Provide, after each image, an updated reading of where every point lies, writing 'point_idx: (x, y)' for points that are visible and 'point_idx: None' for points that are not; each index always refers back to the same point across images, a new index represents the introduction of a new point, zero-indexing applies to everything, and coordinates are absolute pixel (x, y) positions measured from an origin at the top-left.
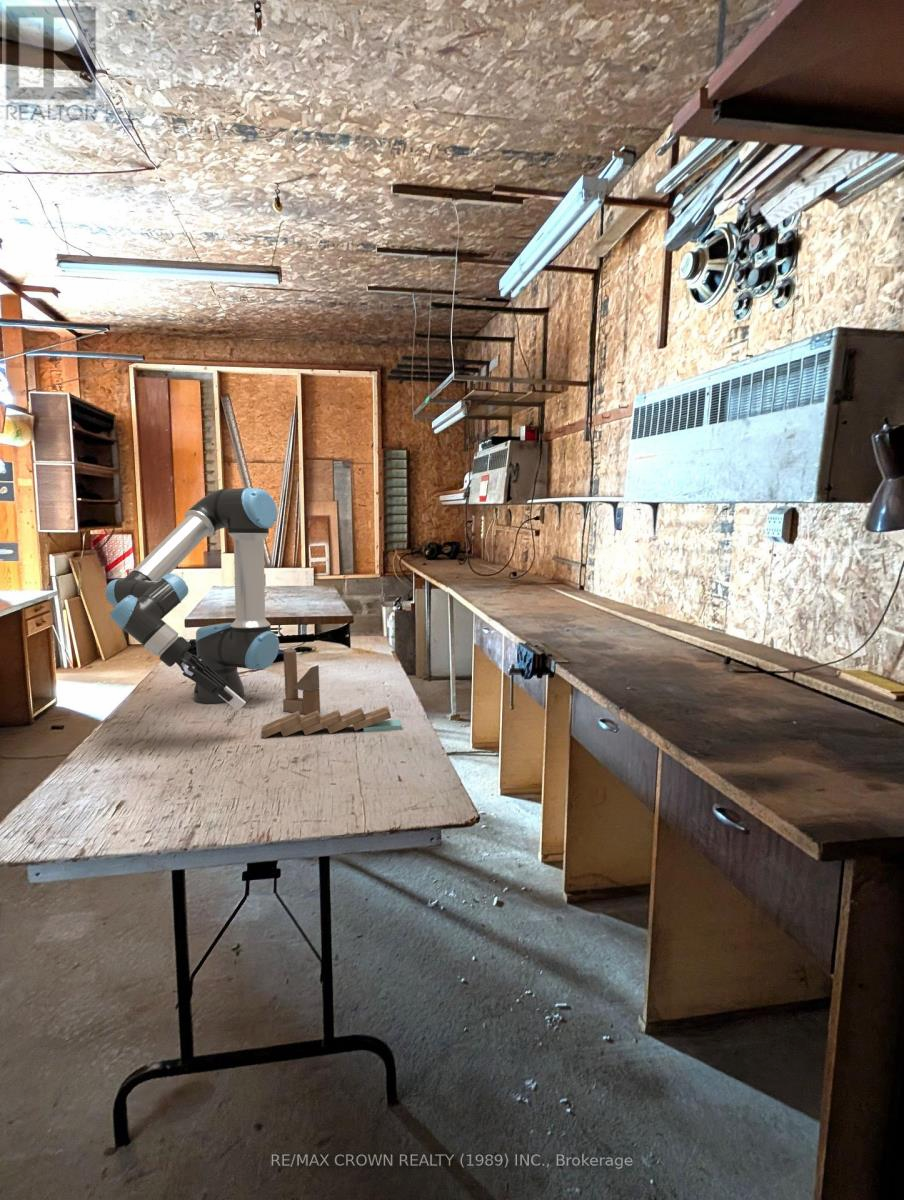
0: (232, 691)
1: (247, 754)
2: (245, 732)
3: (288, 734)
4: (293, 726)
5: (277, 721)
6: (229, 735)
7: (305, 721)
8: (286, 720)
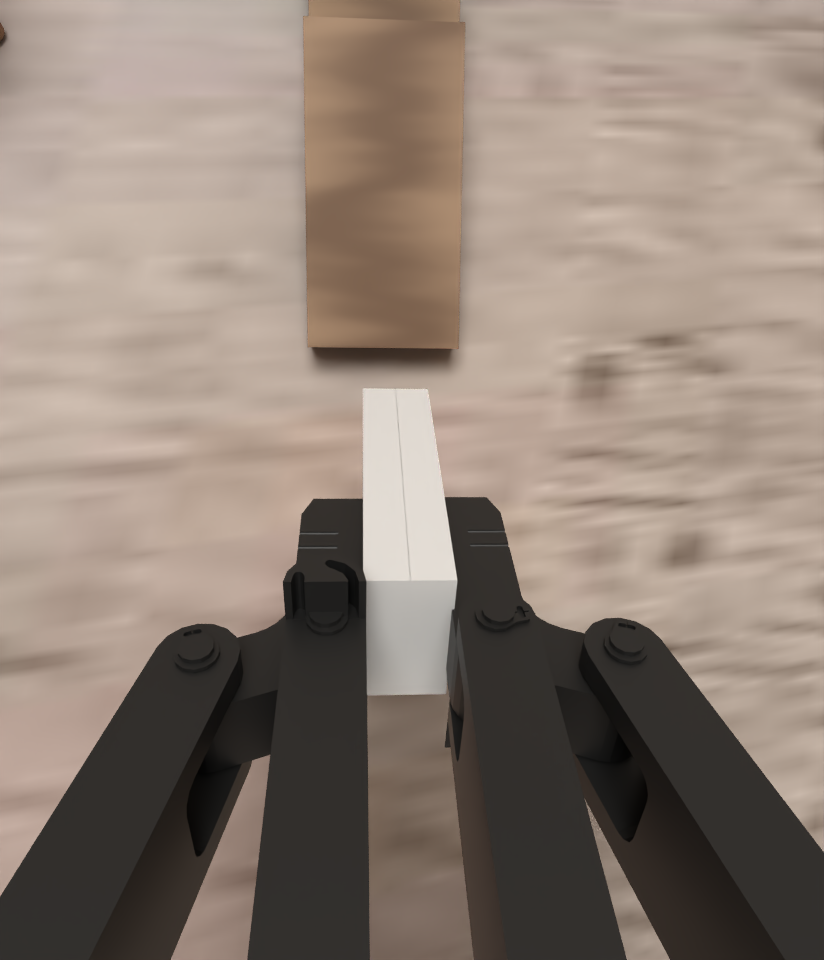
0: (385, 502)
1: (747, 425)
2: (285, 492)
3: None
4: None
5: (360, 213)
6: None
7: (459, 6)
8: (442, 127)
